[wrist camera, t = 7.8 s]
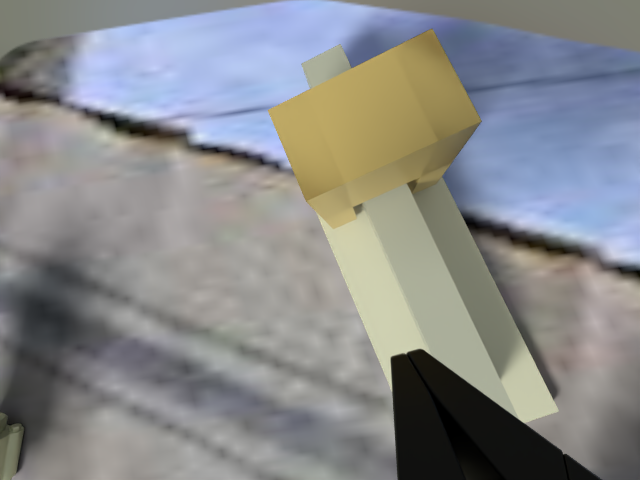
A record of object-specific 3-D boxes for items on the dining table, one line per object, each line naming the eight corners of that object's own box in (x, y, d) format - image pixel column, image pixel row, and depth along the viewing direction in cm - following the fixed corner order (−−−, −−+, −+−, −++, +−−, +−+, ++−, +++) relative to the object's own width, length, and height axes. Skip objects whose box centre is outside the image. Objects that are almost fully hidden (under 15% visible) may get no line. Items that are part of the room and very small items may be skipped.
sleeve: (436, 183, 20) (481, 121, 11) (333, 229, 20) (306, 201, 12) (408, 126, 20) (432, 28, 12) (309, 173, 21) (267, 110, 13)
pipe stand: (550, 405, 18) (608, 449, 14) (418, 450, 19) (432, 506, 15) (384, 69, 22) (387, 16, 17) (279, 121, 23) (255, 83, 18)
